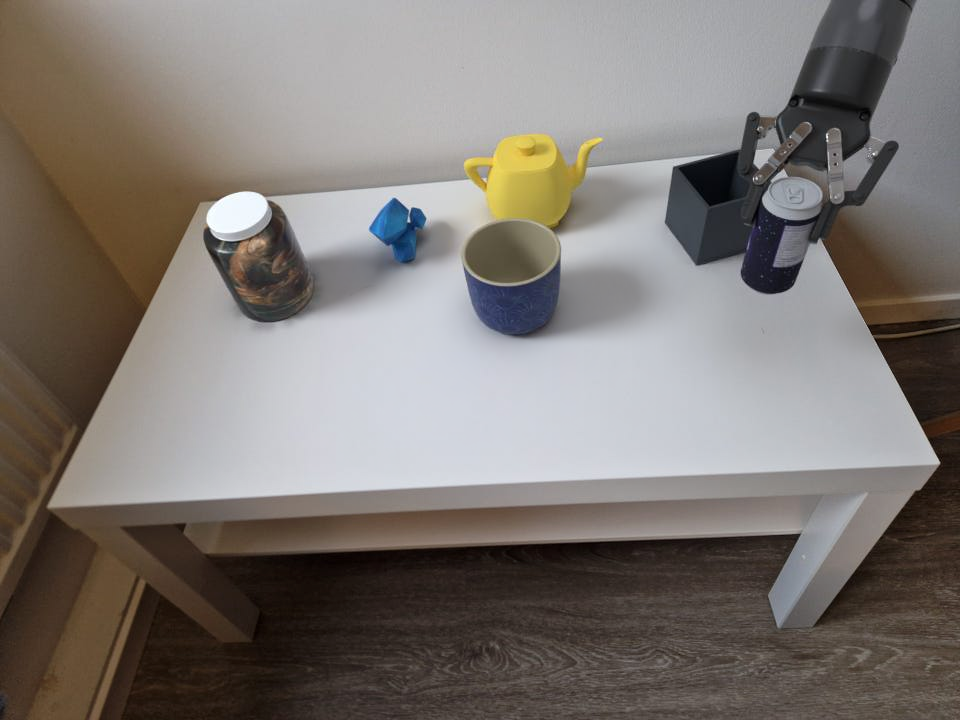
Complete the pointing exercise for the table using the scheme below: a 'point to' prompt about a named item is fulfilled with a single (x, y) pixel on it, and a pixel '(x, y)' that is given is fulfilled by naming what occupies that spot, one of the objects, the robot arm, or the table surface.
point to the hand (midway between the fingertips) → (780, 233)
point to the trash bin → (709, 207)
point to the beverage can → (781, 234)
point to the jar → (258, 256)
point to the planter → (513, 274)
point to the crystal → (398, 228)
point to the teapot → (530, 178)
